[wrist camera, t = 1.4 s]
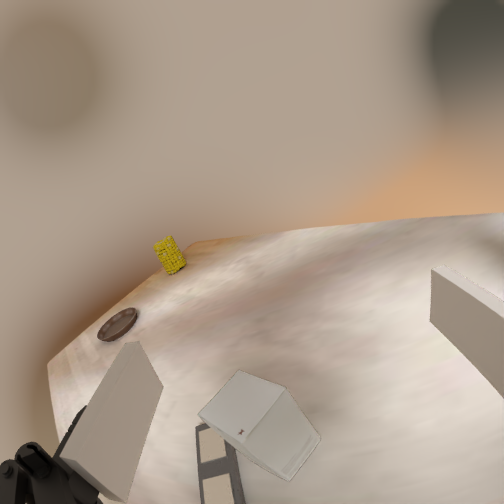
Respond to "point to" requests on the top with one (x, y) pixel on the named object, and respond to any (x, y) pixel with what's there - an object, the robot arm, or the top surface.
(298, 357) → the top surface
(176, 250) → the food
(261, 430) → the supplement box
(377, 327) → the top surface
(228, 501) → the label plate
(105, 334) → the plant saucer
